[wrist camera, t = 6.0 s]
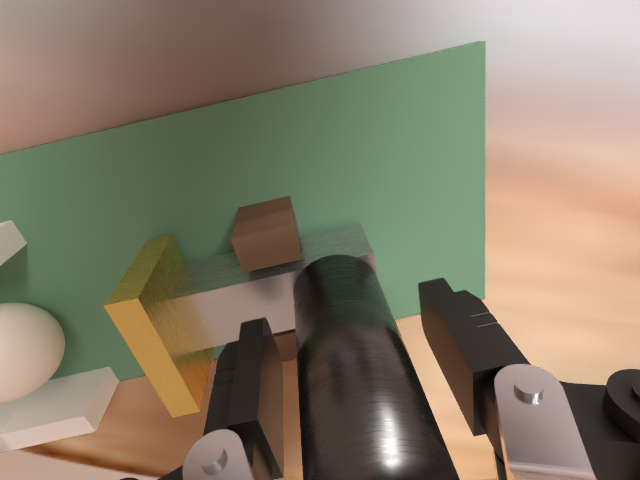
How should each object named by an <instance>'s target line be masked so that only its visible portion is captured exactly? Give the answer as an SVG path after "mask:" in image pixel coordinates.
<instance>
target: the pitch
mask: <svg viewBox="0 0 640 480" xmlns="http://www.w3.org/2000/svg"><path fill="white" fill-rule="evenodd" d="M286 196H290V198H291V201H292V205H293V209H294V213H295V217H296V220H297V224H298V231H299V237H300V236H304V235H308V234H313V233H317V232H321V231H326V230H330V229H334V228H339V227H343V226H347V225H352V224H356V223H361V225H362V227H363V230H364V232H365V234H366V236H367V239H368V241H369V243H370V246H371V248H372V250H373V253H374V257H375V264H376V270H377V276H378V280H379V283H380V285H381V288H382V290H383V293H384V295H385V298H386V300H387V302H388V305H389V307H390V310H391V312H392V315H393V317H394V319H398V318H402V317H407V316H411V315H416V314H420V313H421V310H420V300H419V291H418V284H419V283H420V282H424V281H429V280H433V279H438V278H444V279H445V280H446V281H447V283H448V284H449V286H450V287H451V288H452V290H453V291H454V292H457V291H462V290H466V291H468V292H470V293H471V294H473V295H475V296H476V297H478V298H480V299H481V300H482V299H485V41H478V42H474V43H470V44H466V45H461V46H457V47H453V48H449V49H445V50H440V51H436V52H432V53H428V54H423V55H419V56H415V57H411V58H406V59H402V60H398V61H394V62H390V63H385V64H381V65H377V66H373V67H368V68H364V69H360V70H356V71H352V72H347V73H343V74H339V75H335V76H330V77H326V78H322V79H318V80H313V81H309V82H305V83H301V84H297V85H292V86H288V87H284V88H280V89H275V90H271V91H267V92H263V93H259V94H254V95H250V96H246V97H242V98H237V99H233V100H229V101H225V102H220V103H216V104H212V105H208V106H204V107H199V108H195V109H191V110H187V111H182V112H178V113H174V114H170V115H165V116H161V117H157V118H153V119H149V120H144V121H140V122H136V123H132V124H127V125H123V126H119V127H115V128H111V129H106V130H102V131H98V132H94V133H89V134H85V135H81V136H77V137H72V138H68V139H64V140H60V141H56V142H51V143H47V144H43V145H39V146H34V147H30V148H26V149H22V150H17V151H13V152H9V153H5V154H1V155H0V223H2V222H6V221H10V220H12V221H13V223H14V224H15V226H16V227H17V229H18V230H19V232H20V233H21V235H22V236H23V238H24V239H25V241H26V242H27V244H26V245H25V246H24V247H23V248H21V249H20V250H19V251H18V252H16V253H15V254H14V255H13V256H12V257H10V258H9V259H8V260H7V261H5V262H4V263H3V264H2V265H1V266H0V304H1V303H10V302H17V303H26V304H31V305H34V306H37V307H40V308H42V309H44V310H46V311H47V312H48V313H50V314H51V315H52V316H53V317H54V318H55V319H56V320H57V321H58V322H59V324H60V326H61V328H62V330H63V333H64V337H65V350H64V355H63V358H62V360H61V363H60V365H59V367H58V368H57V370H56V371H55V373H54V374H53V375H52V376H51V378H50V379H49V380H52V379H56V378H61V377H65V376H69V375H74V374H78V373H83V372H87V371H92V370H96V369H100V368H105V367H109V366H110V368H111V369H112V371H113V372H114V374H115V375H116V377H117V378H118V380H119V381H123V380H127V379H132V378H136V377H141V376H145V375H146V374H145V373H144V371H143V369H142V368H141V366H140V364H139V363H138V361H137V360H136V358H135V356H134V355H133V353H132V351H131V350H130V348H129V347H128V345H127V343H126V342H125V340H124V338H123V337H122V335H121V333H120V332H119V330H118V329H117V327H116V325H115V324H114V322H113V320H112V319H111V317H110V316H109V314H108V312H107V311H106V309H105V307H104V305H105V303H106V301H107V300H108V298H109V297H110V295H111V294H112V292H113V291H114V289H115V288H116V286H117V285H118V283H119V282H120V280H121V279H122V277H123V276H124V274H125V273H126V271H127V270H128V268H129V267H130V265H131V263H132V262H133V260H134V259H135V257H136V256H137V254H138V253H139V251H140V250H141V248H142V247H143V245H144V244H145V242H146V241H147V240H149V239H153V238H158V237H162V236H166V235H171V234H173V236H174V238H175V240H176V242H177V245H178V247H179V249H180V251H181V253H182V256H183V258H184V260H185V262H186V263H187V262H191V261H195V260H200V259H204V258H208V257H213V256H217V255H221V254H226V253H230V252H234V251H235V250H234V247H233V245H232V242H231V236H232V232H233V228H234V224H235V220H236V216H237V212H238V208H239V207H243V206H248V205H252V204H256V203H260V202H265V201H269V200H273V199H278V198H282V197H286ZM226 345H227V344H225V345H221V346H216V347H214V350H213V355H212V359H211V361H212V360H216V359H218V357H219V355H220V354H221V352H222V351H223V349H224V348H225V346H226Z"/></svg>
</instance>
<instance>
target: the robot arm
mask: <svg viewBox="0 0 640 480" xmlns="http://www.w3.org/2000/svg"><path fill="white" fill-rule="evenodd" d="M418 291H419V300H420V310H421V320H422V326H423V330H424V333H425V336H426V339H427V341H428V343H429V345H430V347H431V349H432V351H433V354H434V356H435V358H436V360H437V362H438V364H439V366H440V368H441V370H442V372H443V374H444V376H445V378H446V380H447V382H448V384H449V386H450V388H451V390H452V393H453V395H454V397H455V399H456V401H457V403H458V405H459V407H460V409H461V411H462V413H463V415H464V417H465V419H466V421H467V423H468V425H469V427H470V429H471V432H472V434H473V436H478V435H482V434H487V436H488V438H489V440H490V442H491V444H492V446H493V461H494V468H495V474H496V480H640V370H638V369H625V370H620V371H618V372H615V373H614V374H612V375H611V376H610V377H609V379H608V381H607V385H590V384H574V383H566V382H562V381H558V380H557V379H556V378H555V377H554V376H553V375H552V374H550V373H549V372H547V371H545V370H543V369H541V368H539V367H536V366H533V365H531V364H530V363H529V362H528V361H527V359H526V358H525V357H524V355H523V354H522V353H521V352H520V350H519V349H518V348H517V346H516V345H515V344H514V342H513V341H512V340H511V338H510V337H509V336H508V335H507V333H506V332H505V331H504V329H503V328H502V327H501V325H500V324H498V323H497V320H496V319H495V318H494V316H493V315H492V314H491V313H490V312H489V310H488V309H487V307H486V306H485V305H484V303H483V302H482V301H481V299H480V298H478V297H476V296H475V295H473V294H471V293H470V292H468V291H466V290H462V291H457V292H454V291H453V290H452V288H451V287H450V286H449V284H448V283H447V281H446V280H445V279H444V278H438V279H433V280H429V281H424V282H420V283H419V284H418ZM213 385H214V387H213V388H212V393H211V398H210V403H209V409H208V414H207V419H206V424H205V429H204V434H203V437H202V438H200V439H199V440H198V441H197V442H196V443H195V444H194V445H193V446H192V447H191V449H190V450H189V452H188V453H187V455H186V458H185V460H184V463H183V465H182V466H180V467H179V468H178V469H176V470H174V471H173V472H171V473H169V474H167V475H165V476H164V477H162V478H160V479H158V480H273V479H278V478H283V371H282V363H281V358H280V354H279V351H278V348H277V345H276V342H275V340H274V337H273V334H272V331H271V328H270V325H269V323H268V320H267V318H266V317H263V318H259V319H254V320H250V321H246V322H242V323H241V326H240V333H239V340H238V341H234V342H229V343H227V345H226V346H225V348H224V349H223V351H222V352H221V354H220V355H219V357H218V362H217V367H216V375H215V378H214V383H213ZM120 480H138V479H136V478H124V479H120Z"/></svg>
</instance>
